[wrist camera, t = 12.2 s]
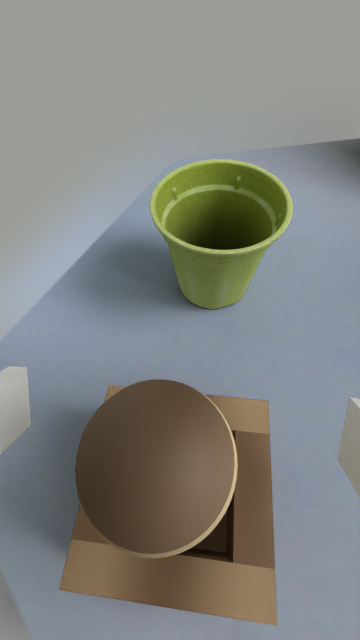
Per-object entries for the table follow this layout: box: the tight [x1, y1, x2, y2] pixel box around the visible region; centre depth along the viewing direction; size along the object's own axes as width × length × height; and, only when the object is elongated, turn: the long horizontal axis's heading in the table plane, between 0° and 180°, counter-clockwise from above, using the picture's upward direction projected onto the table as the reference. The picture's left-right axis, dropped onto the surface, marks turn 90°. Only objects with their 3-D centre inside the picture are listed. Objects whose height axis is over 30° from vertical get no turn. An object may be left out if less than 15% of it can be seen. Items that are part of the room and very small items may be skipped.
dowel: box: [76, 380, 238, 558], centre depth 13 cm, size 4×4×12 cm
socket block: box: [59, 385, 277, 625], centre depth 17 cm, size 9×9×5 cm
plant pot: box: [150, 159, 293, 309], centre depth 24 cm, size 9×9×9 cm
